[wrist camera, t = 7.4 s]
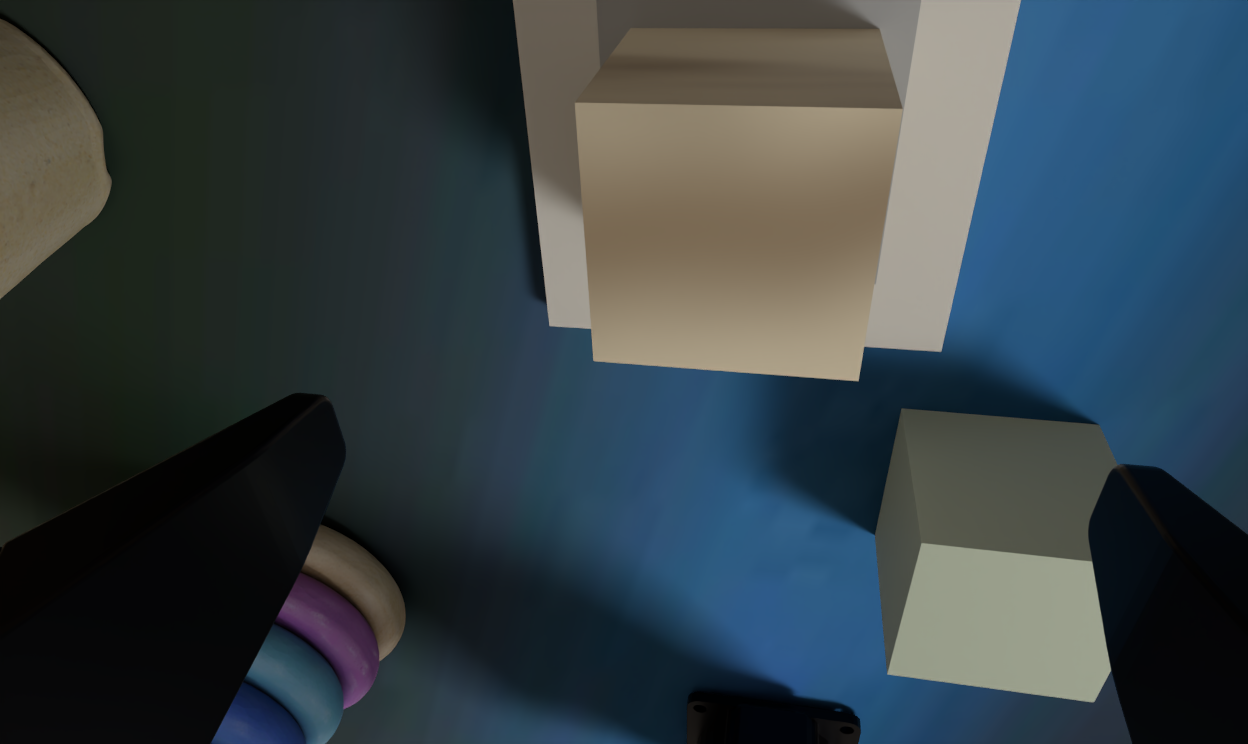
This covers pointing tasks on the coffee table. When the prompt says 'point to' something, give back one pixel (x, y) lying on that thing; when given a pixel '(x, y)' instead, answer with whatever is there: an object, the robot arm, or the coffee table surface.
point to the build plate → (894, 3)
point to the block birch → (737, 197)
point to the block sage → (993, 553)
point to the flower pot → (43, 157)
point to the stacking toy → (318, 648)
